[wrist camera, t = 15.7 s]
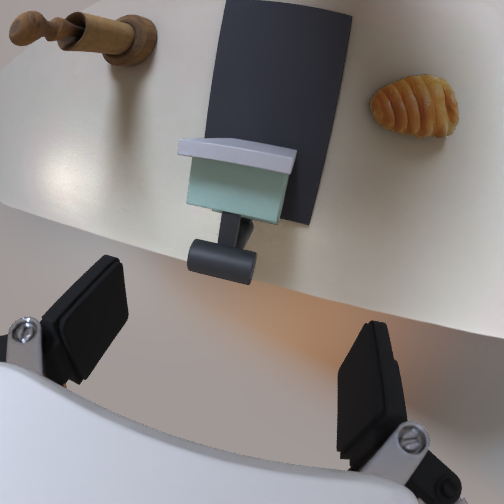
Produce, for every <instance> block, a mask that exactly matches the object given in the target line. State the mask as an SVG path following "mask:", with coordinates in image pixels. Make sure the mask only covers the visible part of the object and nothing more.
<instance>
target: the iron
mask: <svg viewBox="0 0 504 504" xmlns="http://www.w3.org/2000/svg"><path fill="white" fill-rule="evenodd" d="M296 154H297V150H293V149H289V148H284V147H279V146H274V145H269V144H263V143H258V142H252V141H247V140H241V139H234V138H198V139H180V140H179V147H178V155H183V156H190V157H192V164H191V172H190V179H189V187H188V195H187V204H190V205H195V206H200V207H205V208H210V209H212V211H215V212H220V213H222V216H221V223H220V230H219V237H218V244H217V243H213V242H208V241H204V240H200V239H195V240H194V241H193V243H192V245H191V247H190V250H189V254H188V259H187V267H188V270H190V271H193V272H197V273H201V274H205V275H209V276H213V277H217V278H221V279H225V280H229V281H233V282H238V283H242V284H246V285H249V284H250V283H251V280H252V276H253V272H254V268H255V263H256V258H257V253H256V252H252V251H248V250H244V249H243V248H244V246H245V245H246V243H247V241H248V239H249V237H250V235H251V233H252V231H253V229H254V225H253V223H252V219H253V220H258V221H262V222H267V223H271V224H276V225H278V223H279V219H280V216H281V211H282V207H283V202H284V197H285V192H286V188H287V183H288V178H289V174H291V171H292V168H293V165H294V162H295V159H296Z"/></svg>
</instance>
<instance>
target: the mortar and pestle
mask: <svg viewBox="0 0 504 504" xmlns="http://www.w3.org/2000/svg"><path fill="white" fill-rule="evenodd" d="M9 37H10V40H11V42H12V43H14V44H15V45H18V46H26V45H29V44H31V43H33V42H34V41H36V40H38V39H39V38H41V37H45V38H46V40H47V41H56V40H57V42H58V45H59V47H60V48H61V49H62V50H64V51H85V52H97V53H102V54H103V57H104V59H105V60H106V61H107V62H108V63H110V64H112V65H116V66H134V65H137V64H139V63H141V62H142V61H143V60H145V59H146V58H147V56H148V55H149V54H150V53H151V52H152V50H153V48H154V46H155V43H156V39H157V30H156V27H155V25H154V24H153V22H152V21H150V20H149V19H147V18H144V17H141V16H138V15H126V16H123V17H121V18H119V19H117V20H116V21H115V20H111V19H107V18H103V17H99V16H94V15H90V14H86V13H82V12H75V13H72V14H71V15H69V16H68V17H67V18H66V19H62V18H59V17H57V18H54V19H52V20H51V21H47V20H46V19H45V18H44V17H43V15H42V14H40V13H39V12H37V11H28V12H25V13H23V14H21V15H19V16H18V17H17V18H16V19H15V20H14V21H13V23H12V25H11V27H10V31H9Z"/></svg>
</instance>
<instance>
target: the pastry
mask: <svg viewBox="0 0 504 504" xmlns="http://www.w3.org/2000/svg"><path fill="white" fill-rule="evenodd" d="M370 109H371V112H372V114H373V117H374V119H375V121H376V122H377V123H378V124H380V125H381V126H382V127H383V128H384V129H387V130H391V131H395V132H398V133H400V134H404V135H413V136H415V137H417V138H420V139H421V138H424V137H431V136H436V137H438V138H441V137H443V136H444V135H446V136H450V135H451V134H452V133H453V131H454V130H455V129H456V126H457V124H458V120H459V117H458V115H459V114H458V103H457V100H456V98H455V95H454V92H453V90H452V88H451V87H450V85H449V84H448V83H447V82H446V80H444V79H442V78H435V77H434V76H431V75H427V74H423V75H419V76H408V77H406V78H403V79H400V80H399V81H397V82H394V83H392V84H389V85H387V86H385V87H383V88H381V89H379V90H378V91H377V93H376V94H375V95H374V96H373V97H372V98H371V100H370Z"/></svg>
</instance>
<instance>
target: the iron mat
mask: <svg viewBox="0 0 504 504" xmlns="http://www.w3.org/2000/svg"><path fill="white" fill-rule="evenodd" d="M351 22H352V16H350V15H346V14H342V13H338V12H334V11H329V10H324V9H319V8H314V7H308V6H303V5H296V4H289V3H282V2H273V1H263V0H226V5H225V10H224V15H223V20H222V25H221V31H220V36H219V42H218V48H217V54H216V60H215V66H214V72H213V79H212V86H211V93H210V100H209V107H208V115H207V122H206V130H205V138H234V139H241V140H247V141H252V142H258V143H263V144H269V145H274V146H279V147H284V148H289V149H293V150H297V154H296V159H295V162H294V165H293V168H292V171H291V174H289V178H288V183H287V188H286V192H285V197H284V202H283V207H282V211H281V216H280V218H281V219H285V220H290V221H294V222H299V223H303V224H307V225H309V223H310V219H311V215H312V211H313V207H314V203H315V199H316V195H317V191H318V187H319V182H320V178H321V174H322V170H323V165H324V161H325V157H326V152H327V148H328V143H329V139H330V134H331V130H332V125H333V120H334V115H335V110H336V106H337V101H338V96H339V90H340V85H341V80H342V75H343V69H344V64H345V58H346V53H347V47H348V41H349V35H350V29H351Z"/></svg>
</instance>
